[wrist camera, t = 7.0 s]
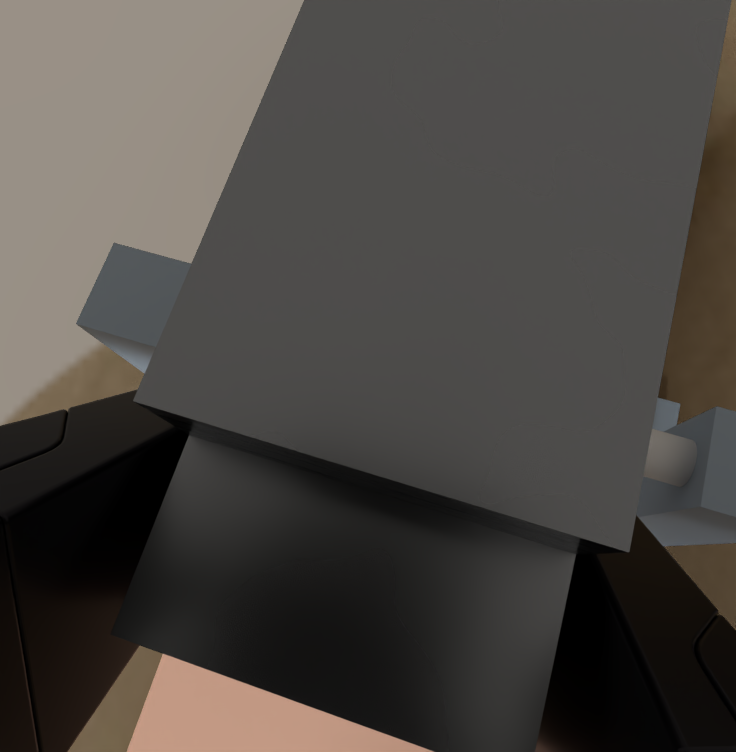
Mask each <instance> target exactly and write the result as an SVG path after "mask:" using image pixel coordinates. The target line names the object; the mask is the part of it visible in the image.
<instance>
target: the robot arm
mask: <svg viewBox="0 0 736 752" xmlns="http://www.w3.org/2000/svg"><path fill="white" fill-rule="evenodd" d="M136 393H137V390H134V391H130V392H127V393H123V394H119V395H115V396H112V397H108V398H104V399H101V400H97V401H93V402H89V403H86V404H82V405H78V406H75V407H71V408H69V409H68V413H67V411H66V410H64V409H63V410H59V411H56V412H52V413H48V414H45V415H41V416H37V417H33V418H29V419H25V420H21V421H17V422H13V423H9V424H6V425H2V426H0V752H68V750H69V749H70V747H71V746H72V744H73V743H74V741H75V740H76V738H77V737H78V735H79V734H80V733H81V731H82V730H83V728H84V727H85V725H86V724H87V722H88V721H89V719H90V718H91V716H92V715H93V713H94V712H95V710H96V709H97V708H98V706H99V705H100V703H101V702H102V700H103V699H104V697H105V696H106V694H107V693H108V691H109V690H110V688H111V687H112V685H113V684H114V683H115V681H116V680H117V678H118V677H119V675H120V674H121V672H122V671H123V669H124V668H125V666H126V665H127V663H128V662H129V660H130V659H131V658H132V656H133V655H134V653H135V652H136V650H137V649H138V647H139V646H140V645H138V644H135V643H132V642H129V641H127V640H124V639H121V638H118V637H116V636H113V635H110V634H111V631H112V629H113V626H114V624H115V621H116V619H117V616H118V614H119V611H120V609H121V606H122V604H123V601H124V598H125V596H126V593H127V591H128V588H129V586H130V583H131V581H132V578H133V576H134V573H135V571H136V568H137V566H138V563H139V561H140V558H141V555H142V553H143V550H144V548H145V545H146V543H147V540H148V538H149V535H150V533H151V530H152V528H153V525H154V523H155V520H156V518H157V515H158V512H159V510H160V507H161V505H162V502H163V500H164V497H165V495H166V492H167V490H168V487H169V485H170V482H171V480H172V477H173V475H174V472H175V470H176V467H177V464H178V462H179V459H180V457H181V454H182V452H183V449H184V447H185V444H186V442H187V439H188V437H189V435H188V434H187V433H185V432H183V431H182V430H180V429H178V428H177V427H175V426H173V425H172V424H170V423H168V422H167V421H165V420H163V419H162V418H160V417H158V416H157V415H155V414H153V413H152V412H150V411H148V410H147V409H145V408H143V407H142V406H140V405H138V404H137V403H135V402H133V400H134V397H135V395H136ZM717 615H718V610H717V609H716V607H715V606H714V605H713V604H712V603H711V602H710V600H709V599H708V598H707V597H706V596H705V595H704V593H703V592H702V591H701V590H700V589H699V588H698V586H697V585H696V584H695V583H694V582H693V581H692V579H691V578H690V577H689V576H688V575H687V574H686V572H685V571H684V570H683V569H682V568H681V566H680V565H679V564H678V563H677V562H676V561H675V559H674V558H673V557H672V556H671V555H670V554H669V552H668V551H667V550H666V549H665V548H664V547H663V545H662V544H661V543H660V542H659V541H658V540H657V538H656V537H655V536H654V535H653V534H652V533H651V531H650V530H649V529H648V528H647V527H646V526H645V524H644V523H643V522H642V521H641V520H640V519H639V517H638V516H637V515H636V519H635V524H634V529H633V535H632V540H631V546H630V551H629V553H605V554H578V555H576V557H575V561H574V566H573V571H572V576H571V581H570V586H569V590H568V595H567V600H566V605H565V610H564V614H563V619H562V624H561V629H560V634H559V639H558V643H557V648H556V653H555V658H554V663H553V667H552V672H551V677H550V682H549V687H548V691H547V696H546V701H545V706H544V711H543V716H542V720H541V725H540V730H539V735H538V740H537V744H536V749H535V752H736V631H735V629H734V628H733V627H732V626H731V625H730V624H729V622H728V621H727V620H726V619H725V618H724V617H723V616H722V615H718V616H717Z"/></svg>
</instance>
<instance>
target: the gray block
mask: <svg viewBox="0 0 736 752" xmlns="http://www.w3.org/2000/svg"><path fill="white" fill-rule="evenodd" d="M730 5H731V0H304V2H303V5H302V7H301V9H300V12H299V14H298V16H297V19H296V21H295V23H294V25H293V28H292V30H291V32H290V35H289V37H288V39H287V42H286V44H285V47H284V49H283V51H282V54H281V56H280V58H279V61H278V63H277V65H276V68H275V70H274V72H273V75H272V77H271V79H270V82H269V84H268V86H267V89H266V91H265V93H264V96H263V98H262V100H261V103H260V105H259V107H258V110H257V112H256V114H255V117H254V119H253V121H252V124H251V126H250V128H249V131H248V133H247V135H246V138H245V140H244V142H243V145H242V147H241V149H240V152H239V154H238V157H237V159H236V161H235V163H234V166H233V168H232V170H231V173H230V175H229V177H228V180H227V182H226V184H225V187H224V189H223V192H222V194H221V196H220V198H219V201H218V203H217V205H216V208H215V210H214V212H213V215H212V217H211V220H210V222H209V224H208V227H207V229H206V231H205V234H204V236H203V238H202V241H201V243H200V246H199V248H198V250H197V252H196V255H195V257H194V259H193V262H192V264H191V266H190V269H189V271H188V273H187V276H186V278H185V280H184V283H183V285H182V287H181V290H180V292H179V294H178V297H177V299H176V301H175V304H174V306H173V308H172V311H171V313H170V315H169V318H168V320H167V322H166V325H165V327H164V329H163V332H162V334H161V336H160V339H159V341H158V343H157V346H156V348H155V350H154V353H153V355H152V357H151V360H150V362H149V364H148V367H147V369H146V371H145V374H144V376H143V378H142V381H141V383H140V386H139V388H138V390H137V393H136V395H135V397H134V400H133V402H135V403H137V404H138V405H140V406H142V407H143V408H145V409H147V410H148V411H150V412H152V413H153V414H155V415H157V416H158V417H160V418H162V419H163V420H165V421H167V422H168V423H170V424H172V425H173V426H175V427H177V428H178V429H180V430H182V431H183V432H185V433H187V434H188V435H189V437H188V439H187V442H186V444H185V447H184V449H183V452H182V454H181V457H180V459H179V462H178V464H177V467H176V470H175V472H174V475H173V477H172V480H171V482H170V485H169V487H168V490H167V492H166V495H165V497H164V500H163V502H162V505H161V507H160V510H159V512H158V515H157V518H156V520H155V523H154V525H153V528H152V530H151V533H150V535H149V538H148V540H147V543H146V545H145V548H144V550H143V553H142V555H141V558H140V561H139V563H138V566H137V568H136V571H135V573H134V576H133V578H132V581H131V583H130V586H129V588H128V591H127V593H126V596H125V598H124V601H123V604H122V606H121V609H120V611H119V614H118V616H117V619H116V621H115V624H114V626H113V629H112V631H111V634H110V635H113V636H116V637H118V638H121V639H124V640H127V641H129V642H132V643H135V644H138V645H141V646H143V647H146V648H149V649H152V650H154V651H157V652H160V653H163V654H165V655H168V656H171V657H174V658H176V659H179V660H182V661H185V662H188V663H190V664H193V665H196V666H199V667H201V668H204V669H207V670H210V671H212V672H215V673H218V674H221V675H223V676H226V677H229V678H232V679H235V680H237V681H240V682H243V683H246V684H248V685H251V686H254V687H257V688H259V689H262V690H265V691H268V692H270V693H273V694H276V695H279V696H282V697H284V698H287V699H290V700H293V701H295V702H298V703H301V704H304V705H306V706H309V707H312V708H315V709H317V710H320V711H323V712H326V713H329V714H331V715H334V716H337V717H340V718H342V719H345V720H348V721H351V722H353V723H356V724H359V725H362V726H365V727H367V728H370V729H373V730H376V731H378V732H381V733H384V734H387V735H389V736H392V737H395V738H398V739H400V740H403V741H406V742H409V743H412V744H414V745H417V746H420V747H423V748H425V749H428V750H431V751H434V752H535V749H536V744H537V740H538V735H539V730H540V725H541V720H542V716H543V711H544V706H545V701H546V696H547V691H548V687H549V682H550V677H551V672H552V667H553V663H554V658H555V653H556V648H557V643H558V639H559V634H560V629H561V624H562V619H563V614H564V610H565V605H566V600H567V595H568V590H569V586H570V581H571V576H572V571H573V566H574V561H575V557H576V555H578V554H605V553H629V551H630V546H631V540H632V535H633V529H634V524H635V519H636V513H637V508H638V502H639V497H640V492H641V486H642V481H643V475H644V470H645V464H646V459H647V454H648V448H649V443H650V437H651V432H652V427H653V421H654V416H655V410H656V405H657V400H658V394H659V389H660V383H661V378H662V373H663V367H664V362H665V356H666V351H667V345H668V340H669V335H670V329H671V324H672V318H673V313H674V308H675V302H676V297H677V291H678V286H679V281H680V275H681V270H682V264H683V259H684V254H685V248H686V243H687V237H688V232H689V227H690V221H691V216H692V210H693V205H694V199H695V194H696V189H697V183H698V178H699V172H700V167H701V162H702V156H703V151H704V145H705V140H706V135H707V129H708V124H709V118H710V113H711V108H712V102H713V97H714V91H715V86H716V80H717V75H718V70H719V64H720V59H721V53H722V48H723V43H724V37H725V32H726V26H727V21H728V16H729V10H730Z"/></svg>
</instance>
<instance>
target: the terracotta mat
mask: <svg viewBox="0 0 736 752" xmlns="http://www.w3.org/2000/svg"><path fill="white" fill-rule="evenodd" d="M127 752H434V751H431V750H428V749H425V748H423V747H420V746H417V745H414V744H412V743H409V742H406V741H403V740H400V739H398V738H395V737H392V736H389V735H387V734H384V733H381V732H378V731H376V730H373V729H370V728H367V727H365V726H362V725H359V724H356V723H353V722H351V721H348V720H345V719H342V718H340V717H337V716H334V715H331V714H329V713H326V712H323V711H320V710H317V709H315V708H312V707H309V706H306V705H304V704H301V703H298V702H295V701H293V700H290V699H287V698H284V697H282V696H279V695H276V694H273V693H270V692H268V691H265V690H262V689H259V688H257V687H254V686H251V685H248V684H246V683H243V682H240V681H237V680H235V679H232V678H229V677H226V676H223V675H221V674H218V673H215V672H212V671H210V670H207V669H204V668H201V667H199V666H196V665H193V664H190V663H188V662H185V661H182V660H179V659H176V658H174V657H171V656H168V655H165V654H163V655H162V658H161V661H160V664H159V666H158V669H157V672H156V674H155V677H154V680H153V682H152V685H151V688H150V691H149V693H148V696H147V699H146V701H145V704H144V707H143V709H142V712H141V715H140V718H139V720H138V723H137V726H136V728H135V731H134V734H133V736H132V739H131V742H130V745H129V747H128V750H127Z"/></svg>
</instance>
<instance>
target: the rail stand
mask: <svg viewBox="0 0 736 752" xmlns="http://www.w3.org/2000/svg"><path fill="white" fill-rule="evenodd" d="M190 266H191V264H190V263H187V262H182V261H179V260H175V259H172V258H168V257H164V256H161V255H157V254H153V253H150V252H146V251H142V250H139V249H135V248H131V247H128V246H124V245H120V244H116V243H114V244H113V246H112V248H111V250H110V252H109V254H108V257H107V259H106V261H105V263H104V265H103V267H102V270H101V272H100V274H99V276H98V278H97V280H96V282H95V284H94V287H93V289H92V291H91V293H90V295H89V297H88V299H87V302H86V304H85V306H84V308H83V310H82V312H81V314H80V316H79V318H78V321H77V323H76V324H77V325H78V326H80V327H81V328H83V329H84V330H85V331H87V332H88V333H90V334H91V335H92V336H94V337H95V338H96V339H98V340H99V341H100V342H102V343H103V344H104V345H106V346H107V347H109V348H110V349H111V350H113V351H114V352H116V353H117V354H118V355H120V356H121V357H122V358H124V359H125V360H127V361H128V362H129V363H131V364H132V365H133V366H135V367H136V368H138V369H139V370H140V371H142V372H143V373H144V374H145V371H146V369H147V367H148V364H149V362H150V360H151V357H152V355H153V353H154V350H155V348H156V346H157V343H158V341H159V339H160V336H161V334H162V332H163V329H164V327H165V325H166V322H167V320H168V318H169V315H170V313H171V311H172V308H173V306H174V304H175V301H176V299H177V297H178V294H179V292H180V290H181V287H182V285H183V283H184V280H185V278H186V276H187V273H188V271H189V269H190ZM679 409H680V404H679V403H676V402H672V401H668V400H665V399H661V398H658V400H657V405H656V410H655V416H654V421H653V427H652V432H651V437H650V443H649V448H648V454H647V459H646V464H645V470H644V475H643V481H642V486H641V492H640V497H639V502H638V508H637V513H636V515H637V516H638V517H639V519H640V520H641V521H642V522H643V523H644V524H645V526H646V527H647V528H648V529H649V530H650V531H651V533H652V534H653V535H654V536H655V537H656V538H657V540H658V541H659V542H660V543H661V544H662V545H663V546H680V545H703V544H726V543H736V411H732V410H728V409H725V408H721V407H717V406H716V407H714V408H712V409H710V410H708V411H706V412H704V413H702V414H699V415H697V416H695V417H693V418H691V419H689V420H687V421H685V422H683V423H681V424H678V425H677V420H678V414H679Z"/></svg>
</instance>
